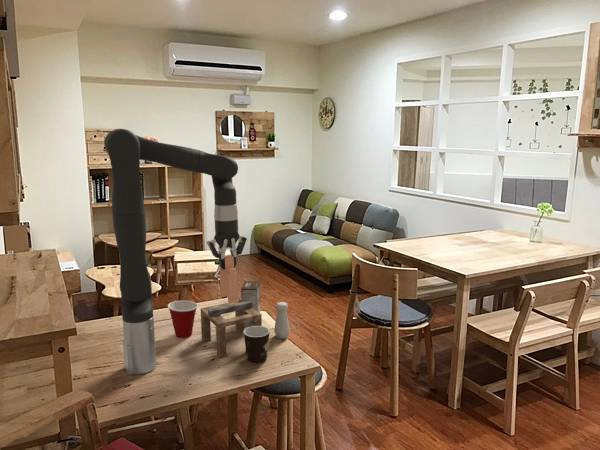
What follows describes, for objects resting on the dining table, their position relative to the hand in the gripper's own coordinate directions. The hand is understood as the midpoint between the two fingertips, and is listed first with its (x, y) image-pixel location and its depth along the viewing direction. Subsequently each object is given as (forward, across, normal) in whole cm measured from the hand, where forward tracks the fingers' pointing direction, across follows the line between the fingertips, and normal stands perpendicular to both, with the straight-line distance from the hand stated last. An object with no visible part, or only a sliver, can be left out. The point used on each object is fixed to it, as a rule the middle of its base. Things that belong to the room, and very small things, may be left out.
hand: (228, 267), depth 166 cm
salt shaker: (+30, +20, 0) cm, 36 cm away
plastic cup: (+30, -10, +19) cm, 37 cm away
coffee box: (+30, +16, +16) cm, 37 cm away
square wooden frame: (+30, +2, +4) cm, 30 cm away
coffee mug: (+30, +3, -12) cm, 32 cm away
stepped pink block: (+11, 0, 0) cm, 11 cm away
